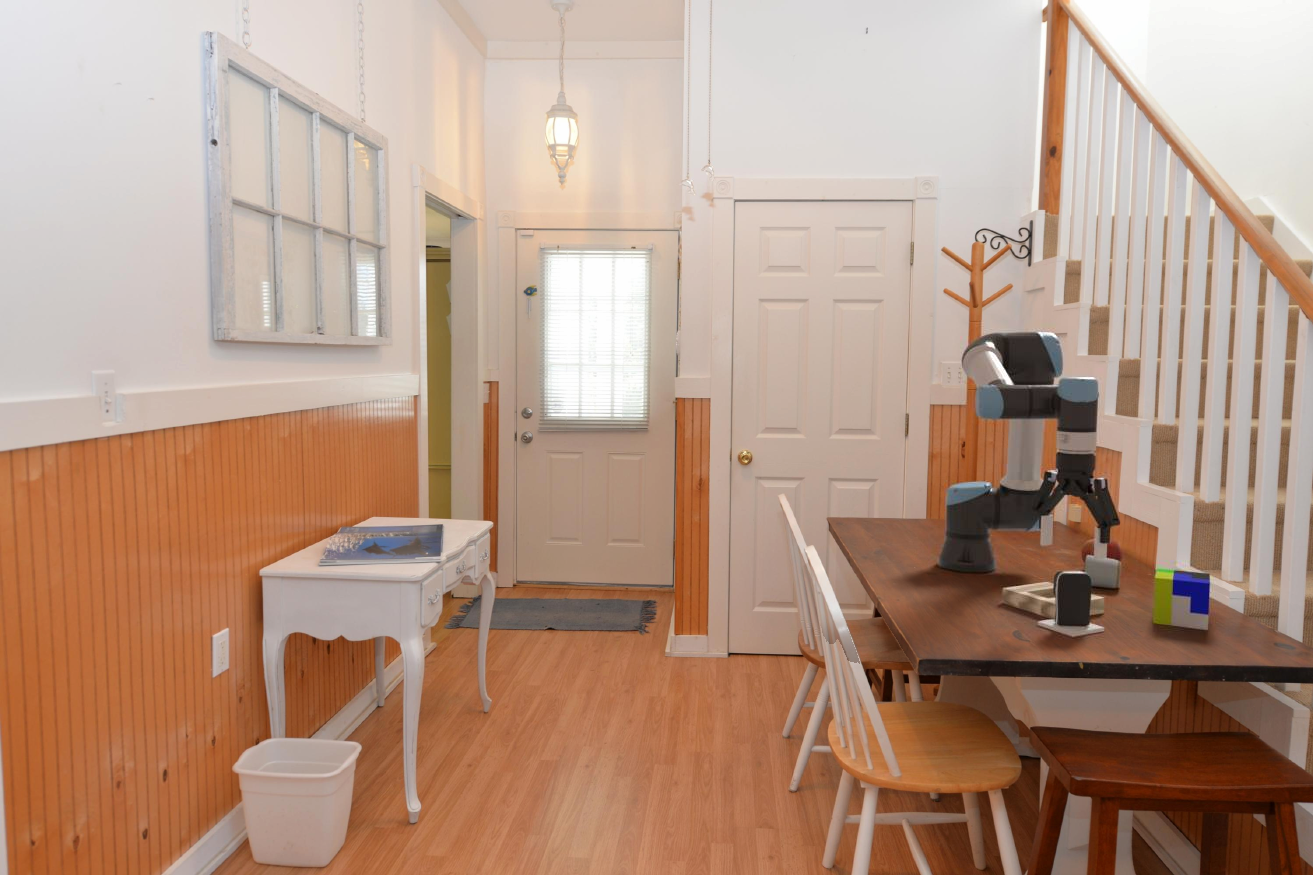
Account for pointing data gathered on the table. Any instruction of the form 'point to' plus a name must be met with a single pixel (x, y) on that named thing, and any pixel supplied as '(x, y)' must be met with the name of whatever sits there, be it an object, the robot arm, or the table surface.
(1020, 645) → the table surface
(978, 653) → the table surface
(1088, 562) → the grey rounded block
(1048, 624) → the white square tile
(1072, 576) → the battery charger
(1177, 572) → the puzzle toy
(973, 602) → the table surface
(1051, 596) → the holder block
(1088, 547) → the fruit
